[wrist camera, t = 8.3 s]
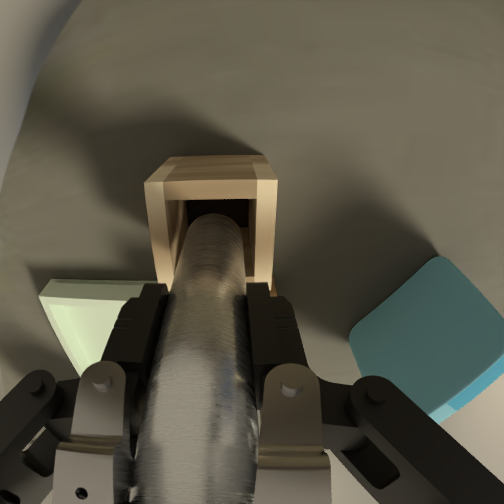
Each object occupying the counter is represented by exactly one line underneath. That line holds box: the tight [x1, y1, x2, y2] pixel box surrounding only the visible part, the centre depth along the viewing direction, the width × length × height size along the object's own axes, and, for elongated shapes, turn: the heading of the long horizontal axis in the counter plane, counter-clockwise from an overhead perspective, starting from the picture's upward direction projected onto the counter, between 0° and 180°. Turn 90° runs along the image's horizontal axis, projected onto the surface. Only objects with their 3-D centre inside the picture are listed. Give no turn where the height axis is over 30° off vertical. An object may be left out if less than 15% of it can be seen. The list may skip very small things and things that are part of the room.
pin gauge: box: [129, 213, 260, 504], centre depth 8 cm, size 3×3×14 cm
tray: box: [39, 279, 158, 377], centre depth 24 cm, size 13×11×3 cm
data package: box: [349, 256, 504, 424], centre depth 20 cm, size 12×4×12 cm, turn 137°
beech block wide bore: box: [144, 155, 278, 291], centre depth 17 cm, size 6×6×6 cm
